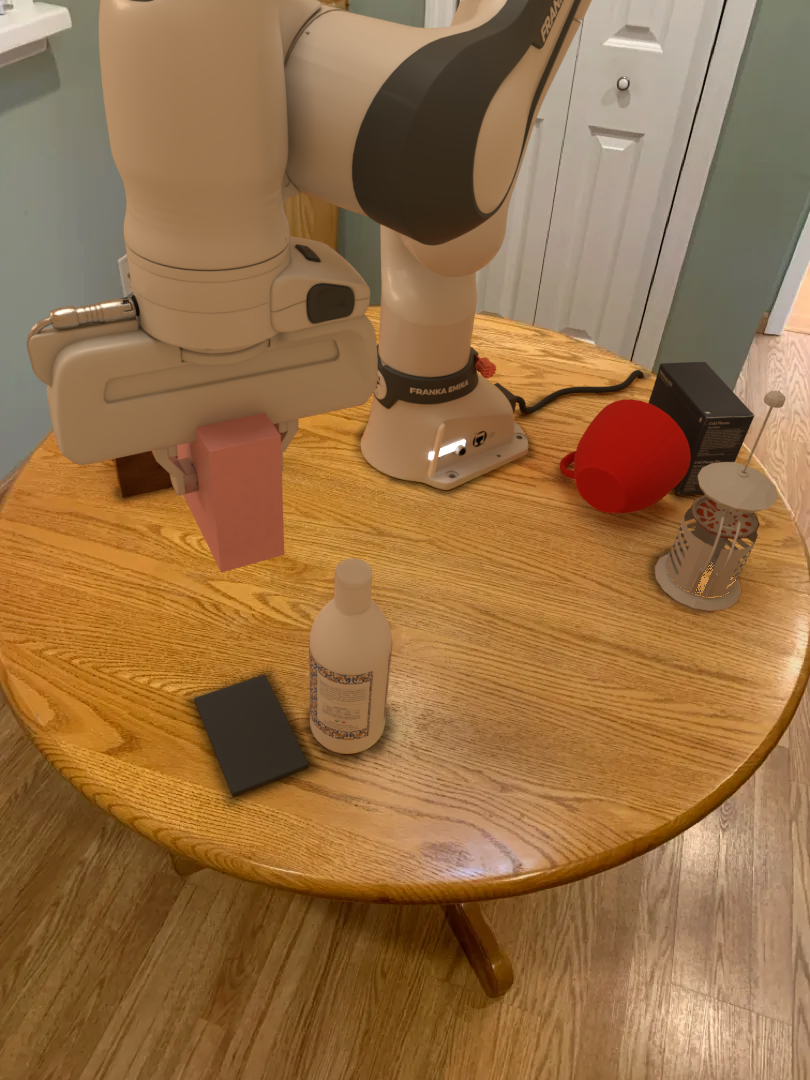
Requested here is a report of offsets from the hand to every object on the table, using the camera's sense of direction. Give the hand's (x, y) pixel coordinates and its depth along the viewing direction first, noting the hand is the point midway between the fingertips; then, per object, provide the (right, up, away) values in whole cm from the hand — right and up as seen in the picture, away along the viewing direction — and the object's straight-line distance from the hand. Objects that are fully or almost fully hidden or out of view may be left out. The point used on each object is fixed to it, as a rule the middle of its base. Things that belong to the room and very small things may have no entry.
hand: (228, 478), depth 57 cm
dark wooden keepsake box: (-18, +6, +49) cm, 53 cm away
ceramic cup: (+33, +2, +43) cm, 55 cm away
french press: (+45, -9, +39) cm, 60 cm away
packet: (0, -3, +3) cm, 4 cm away
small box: (+49, +6, +56) cm, 74 cm away
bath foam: (+7, -21, +21) cm, 31 cm away
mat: (-2, -22, +20) cm, 30 cm away
